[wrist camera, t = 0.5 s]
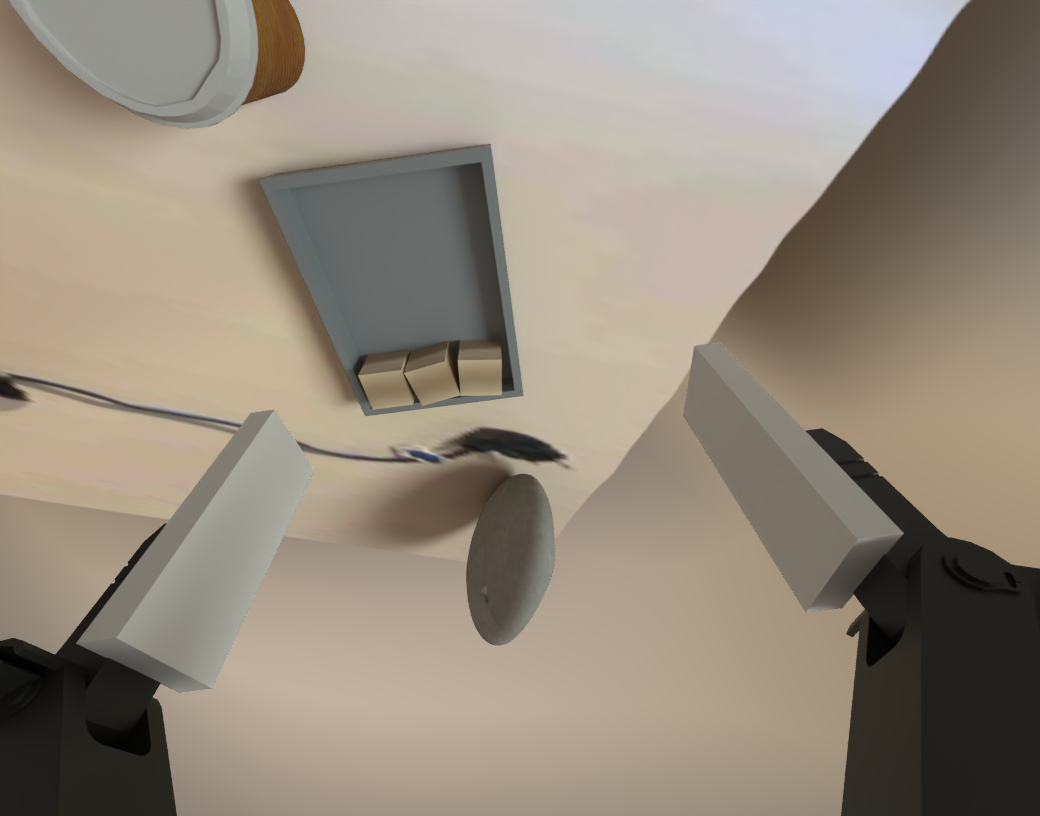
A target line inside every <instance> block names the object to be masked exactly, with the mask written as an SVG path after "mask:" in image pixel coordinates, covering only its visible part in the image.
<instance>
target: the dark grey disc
mask: <svg viewBox="0 0 1040 816" xmlns="http://www.w3.org/2000/svg"><path fill="white" fill-rule="evenodd" d="M554 562H555V543H554V527H553V518H552V512H551V507H550V504H549V500H548V498H547V495H546V493H545V491H544V489H543V487H542V486H541V484H540V483H539V482H538V481H537V479H535V478H534V477H533V476H531V475H528V474H518V475H515V476H512V477H510V478H509V479H507V480H506V481H504V482H503V483H502V484H501V485H500V486H499V487H498V488H497V489H496V490H495V491H494V493H493V494H492V495H491V497H490V498H489V500H488V501H487V503H486V505H485V507H484V509H483V511H482V513H481V515H480V517H479V519H478V522H477V525H476V527H475V530H474V533H473V537H472V541H471V545H470V549H469V555H468V561H467V572H466V582H467V595H468V603H469V608H470V612H471V616H472V620H473V622H474V625H475V627H476V629H477V631H478V632H479V634H480V635H481V637H482V638H483V639H484V640H485V641H487V642H488V643H490V644H492V645H503V644H506V643H509V642H510V641H511V640H513V639H514V638H515V637H516V636H517V635H518V634H519V633H520V632H521V631H522V630H523V629H524V627H525V626H526V625H527V623H528V622H529V621H530V619H531V618H532V616H533V615H534V613H535V611H536V609H537V608H538V606H539V604H540V602H541V600H542V598H543V596H544V594H545V592H546V590H547V588H548V585H549V582H550V580H551V577H552V573H553V568H554Z"/></svg>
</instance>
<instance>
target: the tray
mask: <svg viewBox="0 0 1040 816" xmlns="http://www.w3.org/2000/svg"><path fill="white" fill-rule="evenodd" d="M258 180H259V183H260V185H261V187H262V189H263V191H264V194H265V196H266V198H267V200H268V202H269V205H270V207H271V209H272V211H273V214H274V216H275V218H276V220H277V222H278V225H279V227H280V229H281V231H282V233H283V236H284V238H285V240H286V242H287V244H288V247H289V249H290V251H291V253H292V255H293V258H294V260H295V262H296V264H297V266H298V269H299V271H300V273H301V275H302V278H303V280H304V282H305V284H306V286H307V289H308V291H309V293H310V295H311V297H312V300H313V302H314V304H315V306H316V308H317V311H318V313H319V315H320V317H321V319H322V322H323V324H324V326H325V328H326V330H327V333H328V335H329V337H330V339H331V342H332V344H333V346H334V348H335V350H336V353H337V355H338V357H339V359H340V361H341V364H342V366H343V368H344V370H345V372H346V375H347V377H348V379H349V381H350V383H351V386H352V388H353V390H354V392H355V394H356V397H357V399H358V401H359V403H360V406H361V408H362V410H363V412H364V414H365V416H370V415H378V414H386V413H394V412H401V411H409V410H417V409H425V408H433V407H440V406H448V405H456V404H464V403H471V402H479V401H487V400H495V399H503V398H510V397H518V396H523V389H522V381H521V373H520V366H519V358H518V350H517V343H516V335H515V327H514V320H513V312H512V304H511V297H510V289H509V281H508V274H507V266H506V258H505V251H504V243H503V235H502V228H501V220H500V212H499V205H498V197H497V189H496V182H495V174H494V166H493V159H492V151H491V144H488V145H481V146H474V147H467V148H460V149H452V150H445V151H438V152H431V153H424V154H416V155H409V156H402V157H395V158H388V159H380V160H373V161H366V162H359V163H352V164H344V165H337V166H330V167H323V168H316V169H308V170H301V171H294V172H287V173H280V174H275V175H271V176H268V177H264V178H261V179H258ZM492 339H501V357H502V395H488V396H461V395H460V396H456V397H453V398H449V399H446V400H442V401H438V402H435V403H431V404H428V405H424V406H422V404H421V402H420V401H419V399H418V397H417V395H415V399H414V403H413V405H406V406H398V407H390V408H382V409H375V410H373V409H372V407H371V404H370V402H369V400H368V397H367V395H366V393H365V390H364V388H363V386H362V383H361V381H360V379H359V376H358V375H359V373H360V371H361V369H362V367H363V365H364V363H365V361H366V359H367V357H368V354H373V353H381V352H388V351H396V350H404V349H408V350H409V353H411V352H412V351H415V350H419V349H422V348H426V347H429V346H432V345H436V344H439V343H442V342H446V341H449V344H450V346H451V348H452V350H453V353H454V355H455V357H456V359H457V361H458V354H459V346H460V340H492Z"/></svg>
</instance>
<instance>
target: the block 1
mask: <svg viewBox="0 0 1040 816" xmlns="http://www.w3.org/2000/svg"><path fill="white" fill-rule="evenodd" d="M409 356H410V353H409V350H408V349H404V350H396V351H388V352H381V353H373V354H368V357H367V359H366V361H365V363H364V365H363V367H362V369H361V371H360V373H359V375H358V376H359V379H360V381H361V383H362V386H363V388H364V390H365V393H366V395H367V397H368V400H369V402H370V404H371V407H372V409H373V410H375V409H382V408H390V407H398V406H406V405H413V403H414V399H415V395H416V394H415V392H414V390H413V388H412V386H411V385H410V383H409V381H408V379H407V377H406V376H405V374H404V372H405V368H406V365H407V362H408V359H409Z"/></svg>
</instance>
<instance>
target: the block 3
mask: <svg viewBox="0 0 1040 816" xmlns="http://www.w3.org/2000/svg"><path fill="white" fill-rule="evenodd" d="M458 369H459V381H460V393H461V396H488V395H502V357H501V339H492V340H460V346H459V354H458Z"/></svg>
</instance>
